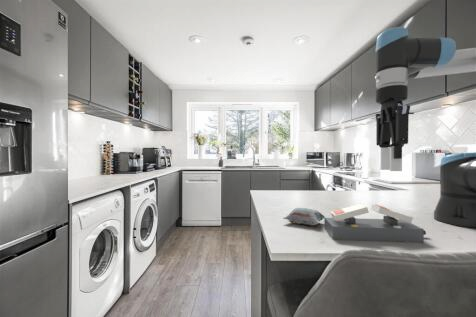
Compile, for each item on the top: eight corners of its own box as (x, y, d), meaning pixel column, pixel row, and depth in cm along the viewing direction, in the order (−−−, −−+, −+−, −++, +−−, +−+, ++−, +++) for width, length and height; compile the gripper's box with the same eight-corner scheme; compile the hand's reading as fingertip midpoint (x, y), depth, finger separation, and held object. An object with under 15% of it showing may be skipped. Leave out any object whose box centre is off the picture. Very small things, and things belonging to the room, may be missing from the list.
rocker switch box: (414, 231, 70) (414, 214, 70) (436, 242, 61) (436, 223, 61) (324, 228, 73) (324, 212, 73) (332, 239, 64) (332, 220, 64)
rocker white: (402, 218, 69) (404, 213, 68) (411, 223, 64) (413, 217, 64) (370, 209, 69) (372, 203, 69) (377, 212, 65) (379, 206, 65)
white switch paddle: (362, 208, 70) (360, 203, 70) (368, 212, 65) (366, 206, 65) (332, 216, 71) (330, 211, 71) (336, 221, 66) (334, 215, 66)
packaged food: (318, 230, 72) (318, 214, 72) (282, 224, 79) (282, 209, 79) (325, 223, 80) (325, 209, 80) (291, 218, 86) (291, 205, 86)
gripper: (364, 95, 75) (363, 168, 76) (394, 78, 58) (393, 172, 58) (389, 94, 74) (388, 168, 75) (427, 76, 57) (426, 172, 57)
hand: (390, 170), depth 67 cm, fingers open, 4 cm apart
